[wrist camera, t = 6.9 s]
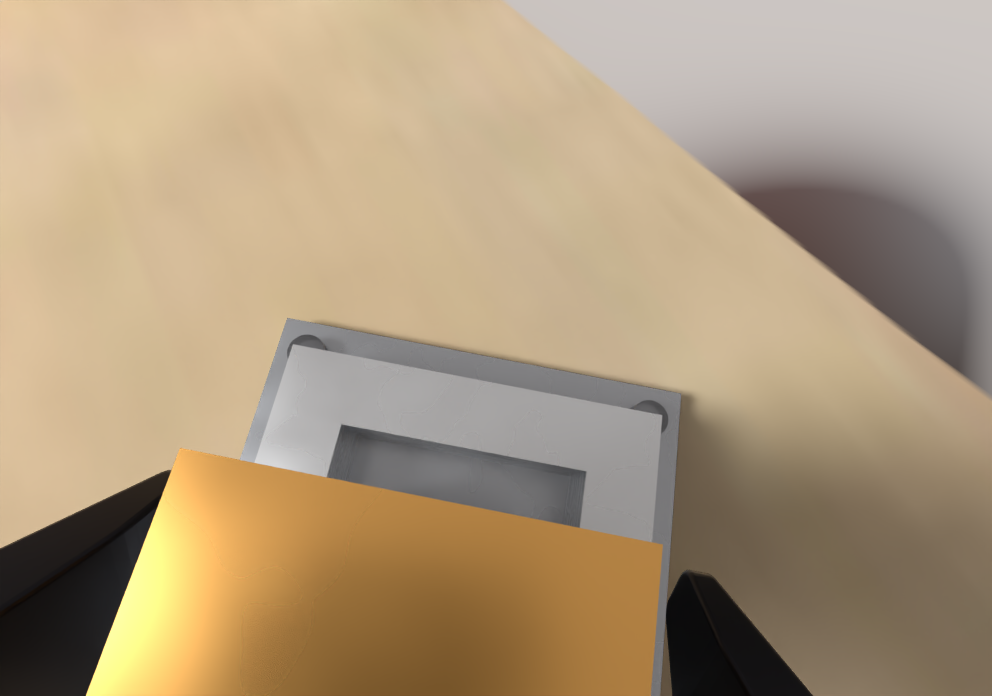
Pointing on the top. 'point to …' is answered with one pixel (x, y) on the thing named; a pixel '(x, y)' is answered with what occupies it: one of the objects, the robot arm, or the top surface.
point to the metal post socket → (474, 434)
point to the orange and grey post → (372, 595)
